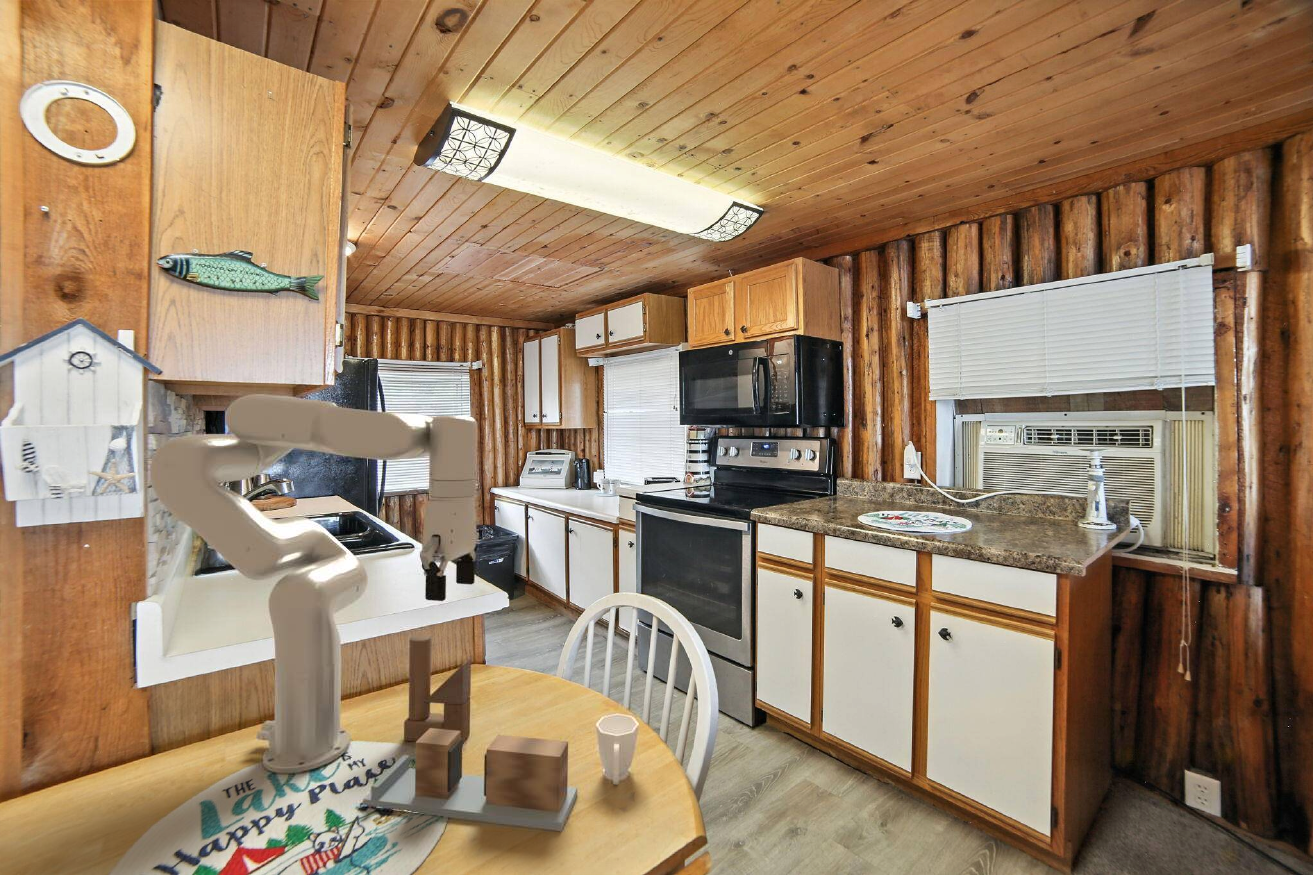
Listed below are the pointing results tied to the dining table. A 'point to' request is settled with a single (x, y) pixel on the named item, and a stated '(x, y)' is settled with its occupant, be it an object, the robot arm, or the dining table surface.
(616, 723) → the cup
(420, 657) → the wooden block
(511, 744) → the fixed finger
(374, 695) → the dining table surface
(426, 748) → the brown rectangular block
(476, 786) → the rail
